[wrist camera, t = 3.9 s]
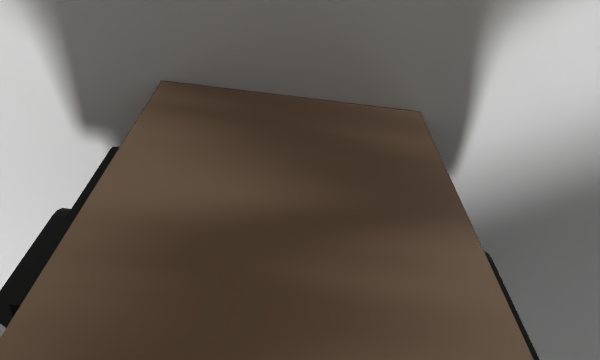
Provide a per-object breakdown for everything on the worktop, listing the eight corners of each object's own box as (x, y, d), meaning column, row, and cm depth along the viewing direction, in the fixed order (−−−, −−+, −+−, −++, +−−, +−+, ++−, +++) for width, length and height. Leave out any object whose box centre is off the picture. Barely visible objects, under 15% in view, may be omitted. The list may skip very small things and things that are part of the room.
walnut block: (419, 112, 10) (604, 512, 4) (367, 291, 12) (426, 682, 6) (161, 81, 9) (-81, 468, 3) (167, 272, 12) (38, 667, 6)
